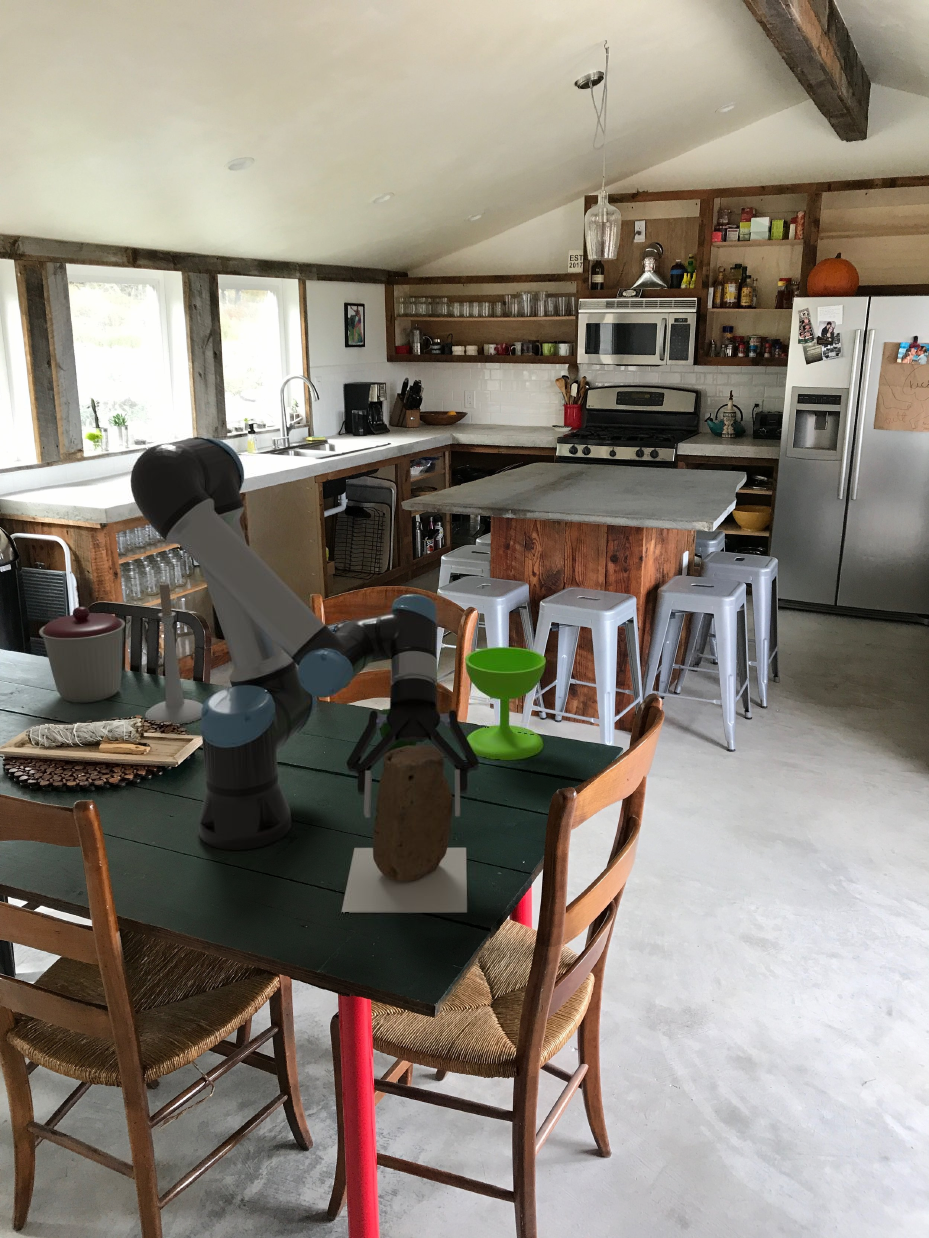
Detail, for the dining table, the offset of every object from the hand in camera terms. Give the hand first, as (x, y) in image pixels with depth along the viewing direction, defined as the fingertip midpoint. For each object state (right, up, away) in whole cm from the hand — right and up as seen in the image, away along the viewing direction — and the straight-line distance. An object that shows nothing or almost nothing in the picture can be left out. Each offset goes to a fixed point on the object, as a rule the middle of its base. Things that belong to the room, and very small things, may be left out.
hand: (412, 814), depth 146 cm
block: (-1, -9, +4) cm, 10 cm away
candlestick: (-55, +8, +66) cm, 86 cm away
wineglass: (+16, +4, +51) cm, 54 cm away
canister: (-78, +12, +78) cm, 111 cm away
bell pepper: (-5, +3, +49) cm, 50 cm away
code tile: (-1, -10, +2) cm, 10 cm away
